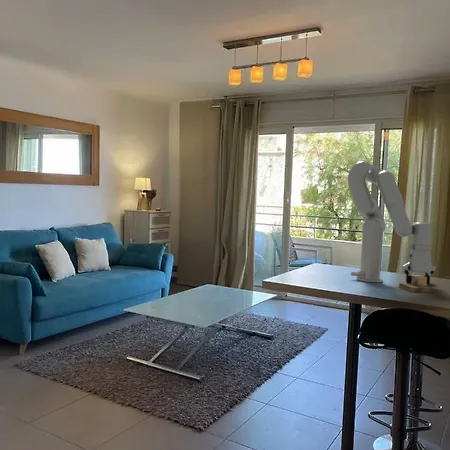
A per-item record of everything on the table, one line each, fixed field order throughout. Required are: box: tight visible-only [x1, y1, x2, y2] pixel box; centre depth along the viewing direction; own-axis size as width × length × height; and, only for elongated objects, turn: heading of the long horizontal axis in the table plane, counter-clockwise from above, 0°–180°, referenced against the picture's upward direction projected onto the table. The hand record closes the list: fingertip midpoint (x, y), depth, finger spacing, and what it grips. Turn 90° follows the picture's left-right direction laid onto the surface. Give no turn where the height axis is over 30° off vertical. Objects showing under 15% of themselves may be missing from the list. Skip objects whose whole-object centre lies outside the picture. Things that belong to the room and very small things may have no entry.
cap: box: [411, 274, 427, 286], centre depth 217 cm, size 6×6×5 cm
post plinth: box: [398, 279, 433, 293], centre depth 207 cm, size 10×10×5 cm
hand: (417, 283), depth 218 cm, fingers open, 9 cm apart
